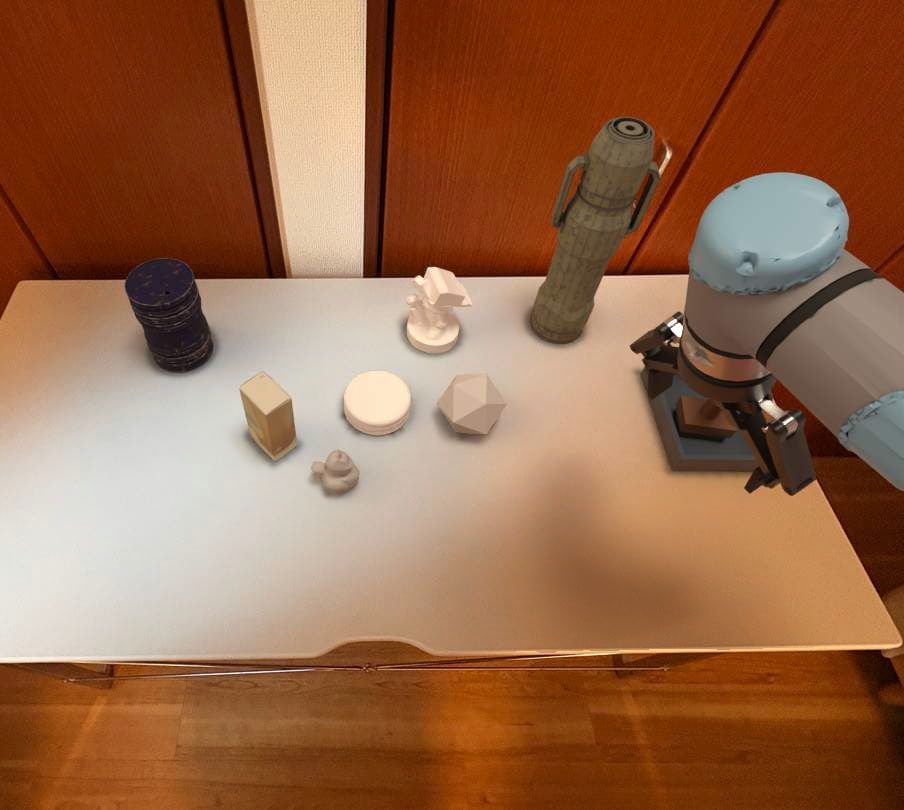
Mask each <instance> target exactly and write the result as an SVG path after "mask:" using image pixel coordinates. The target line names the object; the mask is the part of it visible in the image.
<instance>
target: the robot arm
mask: <svg viewBox="0 0 904 810" xmlns="http://www.w3.org/2000/svg"><path fill="white" fill-rule="evenodd" d="M849 227H850V217H849V214H848V210H847V208H846V206H845V203H844V201H843V200H842V198H841V196H840V194H839V193H838V192H837V191H836V190H835V189H834V188H833V187H831V186H830V185H828V183H827V182H824V181H822V180H820V179H818V178H815V177H812V176H809V175H805V174H800V173H794V172H784V171H783V172H782V171H781V172H780V171H779V172H769V173H762V174H758V175H754V176H750V177H748V178H745V179H742V180H740V181H739V182H736V183H734V184H732V185H730V186H729V187H726V188H724V189H723V190H722V191H721V192H720V193H719V194H718V195H716V196H715V197H714V198H713V199H712V200H711V202H709V204H708V205H707V206H706V208H705V209H704V211H703V213H702V214H701V217H700V220H699V223H698V226H697V229H696V232H695V237H694V241H693V244H692V246H691V248H690V249H689V250H690V251H689V252H688V257H687V258H688V259H687V260H688V262H687V263H688V267H689V270H688V279H687V287H686V296H685V304H684V310H683V312H681V311H676V312H675V313H673V314H672V315H671V316H669V317H668V318H667V319H666V320H664V321H663V322H662V323H660V324H659V325H657V326H656V327H654V328H653V329H650V330H649V331H647V332H646V333H644V334H643V335H642V336H640V337H639V338H638V339H636V340H634V341H633V342H632V343H631V344H629V349H630V350H631V352H632V353H634V354H635V355H640V354H641V355H642V357H643V358H641V362H642V364H643V366H644V367H645V366H646V367H645V371H646V374H647V375H648V392H647V391H646V395H647V397H648V396H649V397H650V398H651V399H652V400H653V399H654V398H656V397H657V396H658V395H660V394H661V393H662V392H664V391H665V390H667V389H668V388H669V387H671V386H672V383H673V375H674V374H676V375H677V376H678V378H679V379H683V380H684V382H685V383H686V384H687V385H688V386H689V387H690V388H691V389H692V390H693V391H695V392H696V393H698V394H699V395H701V396H703V397H705V398H708V399H711V400H713V401H714V403H715V405H716V406H719V407H720V408H721V410H722V411H723V413H724V415H725V417H726V419H727V420H728V422H729V424H730V425H731V426H734V427H736V428H738V429H739V430H740V432H741V434H742V436H743V437H744V439H745V441H746V443H747V445H748V446H749V448H750V450H751V452H752V454H753V455H754V457H755V459H756V461H757V463H758V464H759V467H757V468H756V469H755V470H754V471H752V474H751V475H750V477H749V478H748V480H747V482H746V484H745V485H744V487H743V489H744V490H745V491H746V492H747V493H748V494H749V495H750V494H752V493H753V492H755V491H756V490H758V489H759V488H760V487H762V486H763V487H764V488H768V489H772V490H773V489H774V488H775V487H777V486H778V485H780V486H781V489H782V490H783V491H784V493H785V494H787V495H788V496H791V497H794V496H795V495H797V494H798V493H800V492H801V491H803V490H804V489H806V488H807V487H808V486H810V485H812V484H813V483H814V482H815V481H817V480H818V479H817V475H816V471H815V467H814V464H813V460H812V456H811V452H810V449H809V445H808V442H807V437H806V433H805V430H804V427H805V423H806V421H807V417H806V415H805V414H804V413H803V411H801V410H800V409H798V408H792V409H791V410H783V409H782V408H781V407H779V406H778V405H777V404H775V402H773V401H774V396H773V395H774V394H773V393H772V389H773V387H774V386H775V384H776V383H777V382H778V381H779V383H780V384H781V385H783V387H784V388H785V389H787V391H788V392H789V393H791V394H792V395H793V396H794V397H795V398H796V400H798V401H799V402H800V404H802V405H803V406H804V407H805V408H806V409H807V410H808V411H809V412H810V413H811V414H812V415H813V416H815V418H816V419H817V420H818V421H819V422H820V423H821V424H822V425H823V426H824V427H825V428H827V430H828V431H829V432H831V433H832V435H834V437H836V438H837V440H838V443H839V444H841V445H842V446H843V447H844V449H845V450H847V451H848V452H853V454H855V455H856V456H858V457H859V458H860V459H861V460H863V462H865V463H866V464H867V465H868V466H869V467H871V468H872V469H873V470H874V471H876V472H877V473H878V474H879V475H880V476H882V477H883V478H884V479H885V480H886V481H887V482H889V484H891V485H892V486H894V487H895V488H896V489H898V490H899V491H902V492H904V292H903V291H902V290H900V288H898V287H897V286H895V284H893V283H891V282H890V281H888V280H887V279H886V278H885V277H882V276H881V275H880V274H879V273H877V272H876V271H874V270H873V269H872V268H871V267H870V266H868V265H867V264H866V263H864V262H863V261H862V260H860V259H859V258H857V257H856V256H854V254H852V253H851V252H849V251H848V250H846V249H845V247H846V242H847V241H848V240H849V238H848V235H849V234H848V231H849ZM672 343H673V344H675V345H676V344H678V346H674V345H672ZM649 397H648V398H649ZM737 411H739V412H741V413H740V414H738V413H737Z"/></svg>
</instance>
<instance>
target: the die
mask: <svg viewBox="0 0 904 810" xmlns="http://www.w3.org/2000/svg"><path fill="white" fill-rule="evenodd" d="M436 405H437V407H438V408H439V410H440V411H441V413H442V414H443V416H444V418H445V419H446V420H447V423H449V425H450V427H452V429H453V430H454V433H456V434H475V435H487V434H488V433H489V431H490V430H491V428H492V427H493V425H494V424H495V423H496V421H497V419H498V418H499V416H500V415H501V414H502V412H503V410H504V409H505V407H506V406H507V405H508V403H507V402H506V401H505V399H504V398H503V396H502V395H501V393H500V391H499V390H498V388H497V387H496V386H495V384H494V382H493V381H492V379H491V378H490V376H489V375H488V373H478V374H477V373H475V374H474V373H473V374H472V373H471V374H456V375H454V378H453V379H452V380H451V382H450V384H449V385H448V386H447V387H446V389H445V391H444V392H443V394H442V395H441V396H440V398H439V399H438V401H437V402H436Z"/></svg>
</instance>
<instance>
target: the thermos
mask: <svg viewBox="0 0 904 810" xmlns="http://www.w3.org/2000/svg"><path fill="white" fill-rule="evenodd" d="M655 135H656V132H655V130H654V128H653V127H652V126H651V125H650V124H648V123H647V122H645V121H643V120H642V119H640V118H638V117H637V118H636V117H632V116H619V117H613V118H611V119H609V120H607V121H606V122H605V124H604V125H603V126H602V127H601V129H600V130H599V131H598V133H597V134H596V136H595V137H594V139H593V140H592V142H591V144H590V147H589V150H588V152H584V153H583V155H577V156H575V158H573V159H572V160H571V161H569V163H568V164H567V165H566V167H565V172H564V174H563V177H562V181H561V185H560V187H559V191H558V194H557V197H556V200H555V204H554V207H553V210H552V211H553V212H552V214H551V225H552V228H557V229H558V230H557V236H556V239H557V244H556V247H555V249H554V253H553V256H552V260H551V262H550V264H549V268H548V271H547V274H546V277H545V280H543V282H542V283H541V285H540V286H539V287H538V291H537V294H536V297H535V298H534V299H535V300H534V303H533V307H532V310H531V311H532V313H531V315H530V320H529V324H530V328H531V330H532V331H533V333H534V334H535V335H536V336H537V337H539V338H540V339H541V340H542V341H544V342H545V341H546V342H547V343H551V344H555V345H567V344H570V343H573V342H574V341H576V340H577V339H579V338H580V337H581V334H582V332H583V329H584V328H585V327H586V325H587V323H588V321H589V319H590V317H591V315H592V312H593V310H594V308H595V297H596V294H597V292H598V289H599V287H600V285H601V282H602V280H603V277H604V275H605V273H606V271H607V268H608V266H609V263H610V262H611V259H612V257H614V256H615V255H616V254H617V253H618V251H619V249H620V247H621V245H622V242H623V240H624V239H626V237H627V236H629V235H631V234H633V233H635V232H637V231H638V230H639V228H640V226H641V225H642V222H643V219H644V217H645V215H646V212H647V210H648V208H649V206H650V204H651V202H652V199H653V197H654V195H655V193H656V190H657V189H658V186H659V184H660V181H661V179H662V175H661V173H660V170H659V167H658V164H657V162H656V161H653V159H654V150H655ZM579 169H582V171H581V175H580V182H579V183H578V184H577V186H576V189H575V192H574V193H573V194H572V196H571V197H570V198H569V199H568V196H569V193H570V189H571V187H572V183H573V182H574V181H573V180H574V177H575V174H576V172H577V171H578V170H579ZM648 175H649V176H648ZM647 176H648V178H647V181H646V183H645V185H644V187H643V188H642V189H643V190H642V192H641V194H640V196H639V199H638V201H637V203H636V205H635V208H634V210H633V205H634V203H635V200H636V195H637V194H638V192H639V191H640V188H641V186H642V184H643V181H644V180H645V178H646V177H647ZM567 199H568V201H567ZM564 208H565V209H564Z"/></svg>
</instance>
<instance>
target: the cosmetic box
mask: <svg viewBox="0 0 904 810" xmlns="http://www.w3.org/2000/svg"><path fill="white" fill-rule="evenodd" d="M238 390H239V392H240V393H239V395H240V398H241V403H242V407H243V410H244V415H245V420H246V423H247V428H248V431H249V436H250V437H251V438H252V440H253V441H254V442H255V443H256V444H257V445H258V446H259V448H260V449H261V450H262V451H263V452H264V453H265V454H266V455H267V456H268V457H269V458H271V460H272V461H273V462H276V461H278V460H280V459H282V457H284V456H286V455H287V454H288V453H290V452H291V451H292V450H294V449H295V448H297V447H298V440H297V439H298V438H297V433H296V432H297V431H296V423H295V415H294V407H293V398H292V396H290V394H289V393H288V392H287V391H286V390H284V388H283V387H282V386H281V385H280V384H279V383H277V381H276V380H274V378H272V377H271V376H270V374H268V373H267V372H266V371H265V370H262V371H260V372H258V373H257V374H255V375H253V376H252V377H251V378H249V379H247V380H246V381H245V382H243V383H242V384H240V385H239V386H238Z"/></svg>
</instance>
